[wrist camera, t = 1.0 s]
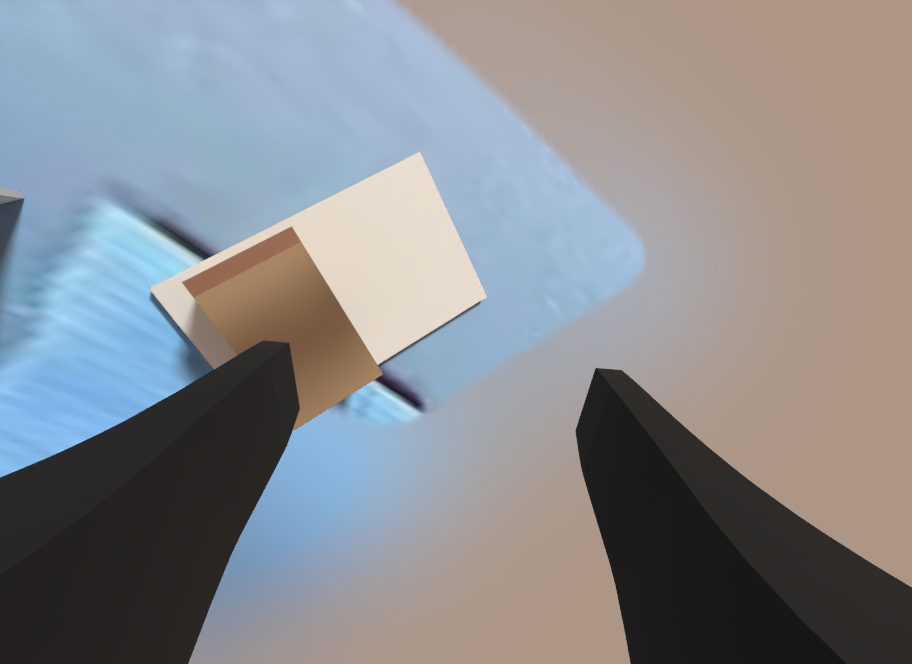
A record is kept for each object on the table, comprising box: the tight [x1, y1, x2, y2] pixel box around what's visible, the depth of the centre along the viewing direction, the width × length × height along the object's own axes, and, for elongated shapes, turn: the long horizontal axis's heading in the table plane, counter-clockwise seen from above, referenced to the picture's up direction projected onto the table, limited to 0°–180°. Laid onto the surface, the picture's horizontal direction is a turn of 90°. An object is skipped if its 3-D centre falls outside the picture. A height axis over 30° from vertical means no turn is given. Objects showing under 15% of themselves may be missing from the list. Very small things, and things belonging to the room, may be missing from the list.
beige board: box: [149, 152, 487, 369], centre depth 20 cm, size 13×8×1 cm, turn 116°
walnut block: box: [182, 226, 383, 430], centre depth 17 cm, size 7×4×4 cm, turn 26°
